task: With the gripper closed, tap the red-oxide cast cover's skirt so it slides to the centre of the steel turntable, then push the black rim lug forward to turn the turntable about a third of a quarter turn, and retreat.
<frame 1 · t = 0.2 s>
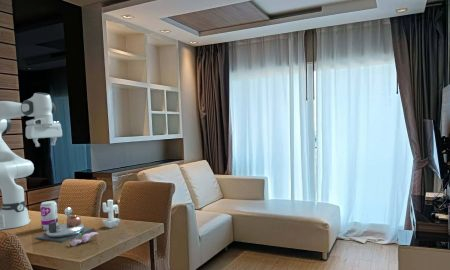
hand: (45, 146, 185), 47 cm above the table, fingers open, 8 cm apart
turntable: (65, 225, 176), point 5 cm above the table, hinge at 0.0°, touching cover
cover: (74, 224, 181), point 3 cm above the table, touching turntable
plinth: (65, 234, 177), on the table
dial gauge: (69, 227, 189), resting on plinth
figurine: (111, 226, 187), on the table
supplement can: (50, 228, 189), on the table
rabbit figure: (83, 243, 161), on the table
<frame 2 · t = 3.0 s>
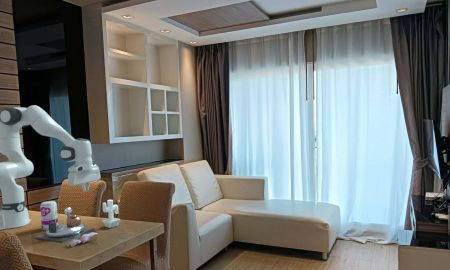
hand: (86, 190, 190), 20 cm above the table, fingers closed
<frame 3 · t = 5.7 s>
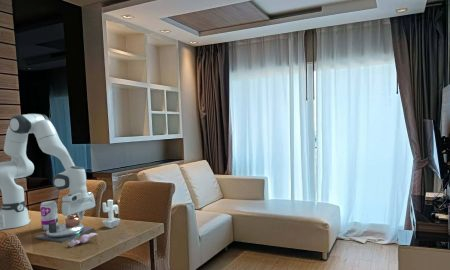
hand: (80, 219, 185), 5 cm above the table, fingers closed
turntable: (65, 225, 176), point 5 cm above the table, hinge at 0.0°
cover: (72, 225, 181), point 3 cm above the table, touching gripper
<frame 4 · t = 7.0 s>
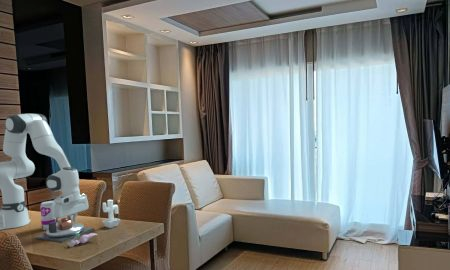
hand: (72, 221, 181), 5 cm above the table, fingers closed
turntable: (65, 225, 176), point 5 cm above the table, hinge at 0.0°, touching cover
cover: (65, 228, 176), point 3 cm above the table, touching gripper, turntable
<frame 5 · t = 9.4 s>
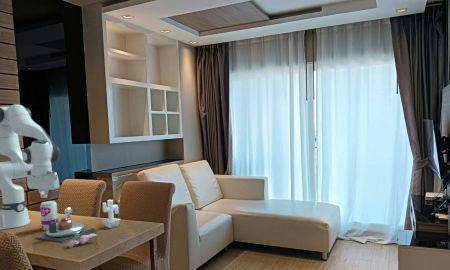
hand: (44, 197, 172), 21 cm above the table, fingers closed
cover: (65, 228, 176), point 3 cm above the table, touching turntable
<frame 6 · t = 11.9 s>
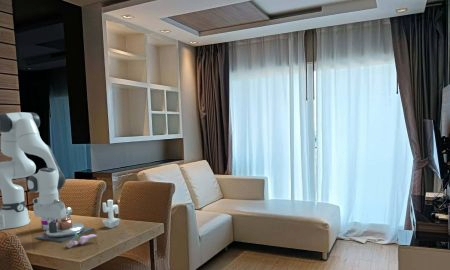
hand: (50, 226, 171), 6 cm above the table, fingers closed, pressing on turntable
turntable: (65, 225, 176), point 5 cm above the table, hinge at 1.6°, touching cover, gripper
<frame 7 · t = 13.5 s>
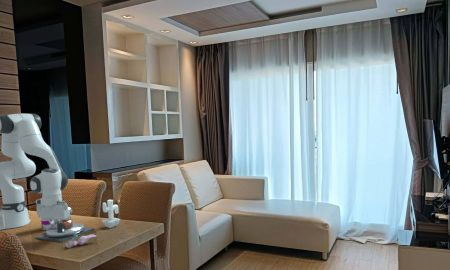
hand: (54, 226, 170), 6 cm above the table, fingers closed
turntable: (65, 225, 176), point 5 cm above the table, hinge at 34.5°, touching cover
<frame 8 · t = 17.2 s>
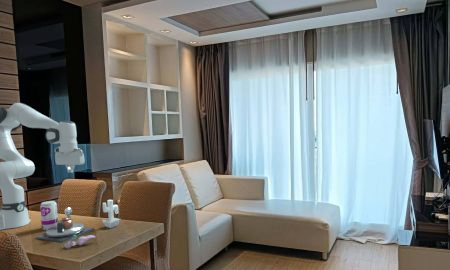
hand: (70, 172, 191), 31 cm above the table, fingers closed
at the end: cover 0.4 cm from the turntable (horizontally); turntable at +34° (first picture: +0°); cover tilted 0° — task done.
